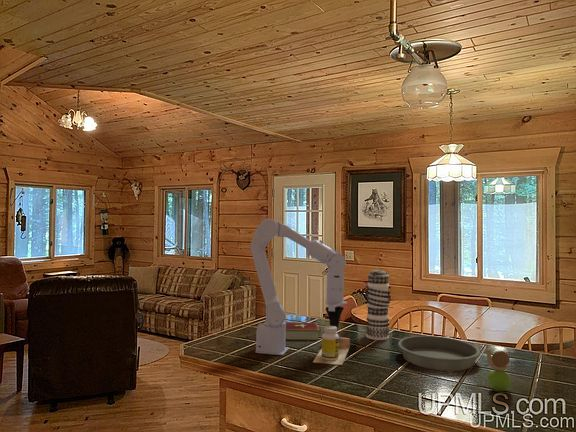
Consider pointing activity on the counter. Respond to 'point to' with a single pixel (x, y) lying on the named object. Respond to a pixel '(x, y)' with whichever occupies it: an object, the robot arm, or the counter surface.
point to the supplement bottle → (330, 343)
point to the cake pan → (438, 352)
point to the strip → (343, 350)
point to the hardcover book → (302, 331)
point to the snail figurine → (498, 370)
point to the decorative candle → (377, 305)
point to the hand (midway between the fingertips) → (334, 328)
